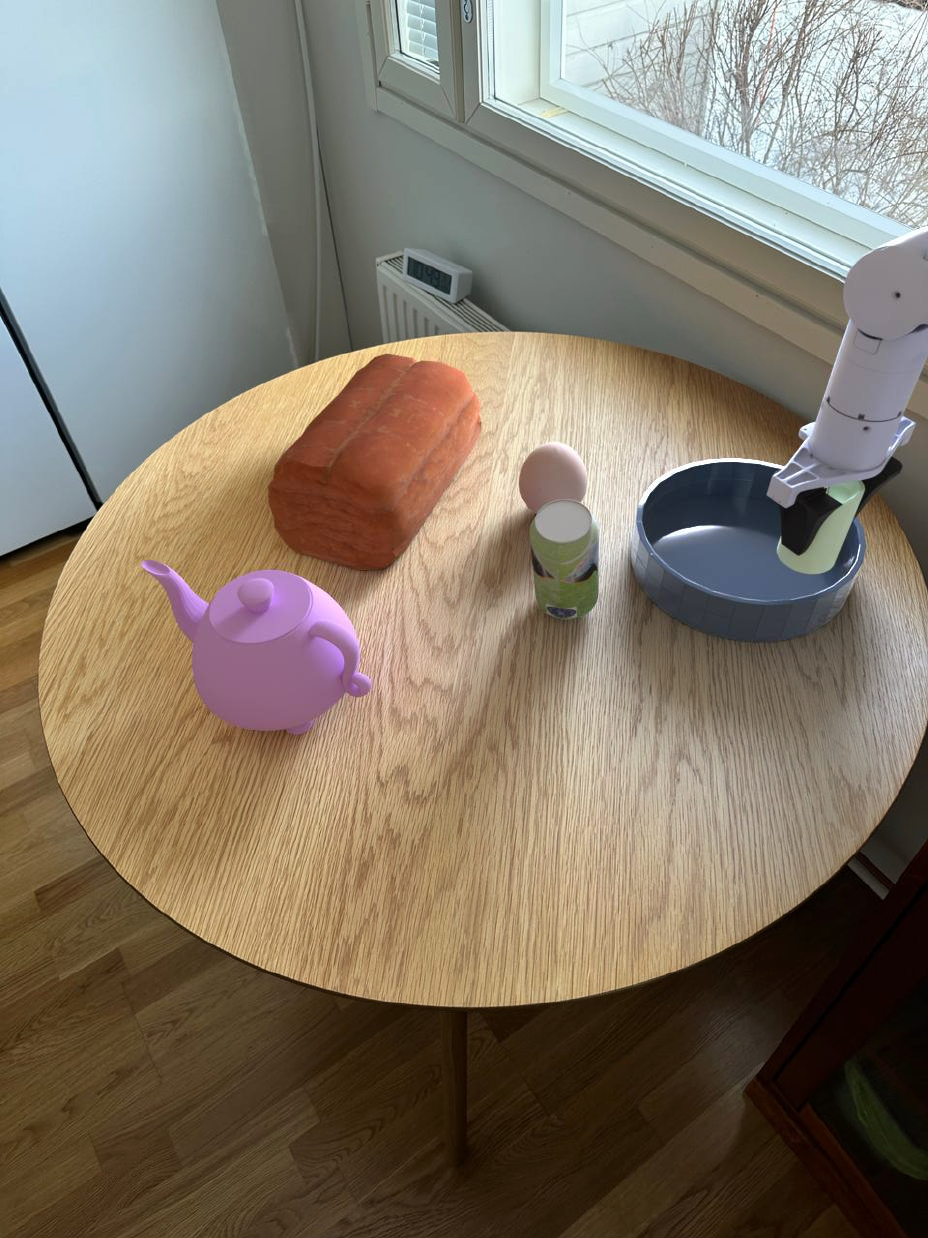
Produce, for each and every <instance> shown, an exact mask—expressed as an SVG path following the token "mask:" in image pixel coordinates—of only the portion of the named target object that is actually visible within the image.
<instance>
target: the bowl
mask: <svg viewBox="0 0 928 1238" xmlns="http://www.w3.org/2000/svg"><path fill="white" fill-rule="evenodd" d="M784 467H785V465H784V466H783V465H780V464H775V463H771V462H766V461H762V460H755V459H745V458H733V457H731V458H712V459H706V460H700V461H694V462H690V463H687V464H685V465H682V466H679V467H676V468H673V469H671V470H669V471H668V472H666V473H665V474H663V475H661V476H660V477H658V478H657V479H656V480H654V481H653V482H652V484H651V485H649V487H647V489H646V490H645V491H644V492H643V493H642V496H641V498H640V500H639V503H638V504H637V507H636V513H635V520H634V527H633V533H632V539H631V549H630V563H631V568H632V571H633V574H634V577H635V579H636V582H637V583H638V585H639V586H640V588H641V590H642V591H643V593H644V594H645V595H646V596H647V598H648V599H650V601H651V602H653V604H655V605H656V606H657V607H658V608H659V609H660V610H661V611H662V612H664V613H665V614H667V615H668V616H669V617H671V618H673V619H675V620H676V621H678V622H679V623H681V624H683V625H685V626H687V627H689V628H692V629H694V630H696V631H699V632H702V633H704V634H707V635H710V636H713V637H717V638H721V639H724V640H731V641H736V642H746V643H772V642H773V643H774V642H782V641H787V640H791V639H792V640H793V639H796V638H799V637H802V636H806V635H808V634H810V633H813V632H815V631H816V630H819V629H820V628H822V627H823V626H825V625H826V624H828V623H830V622H831V621H832V620H833V618H835V617H836V616H837V614H839V612H840V611H841V610H842V609H843V606H844V604H845V603H846V601H847V599H848V598H849V596H850V594H851V592H852V589H853V587H854V584H855V582H856V580H857V578H858V575H859V573H860V571H861V568H862V566H863V564H864V561H865V556H866V550H867V542H866V535H865V530H864V527H863V525H862V523H861V521H860V519H859V517H858V516H857V517H856V518H855V519H854V520H853V522H852V523H851V525H850V528H849V530H848V532H847V535H846V537H845V540H844V542H843V545H842V547H841V549H840V552H839V554H838V557H837V559H836V561H835V564H834V566H833V567H832V568H831V569H830V570H828V571H826V572H824V573H820V574H805V573H800V572H797V571H795V570H793V569H791V568H789V567H787V566H786V565H785V564H784V563H783V562H782V561H781V560H780V559H779V557H778V554H777V547H778V544H779V541H780V538H781V515H780V509H779V504H778V503H777V502H775V501H774V500H773V499H772V498H770V497H769V496H767V492H768V489H769V485H770V482H771V479H772V476H773V475H774V473H775V472H776V471H778V470H780V469H782V468H784Z"/></svg>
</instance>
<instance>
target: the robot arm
mask: <svg viewBox="0 0 928 1238" xmlns="http://www.w3.org/2000/svg"><path fill="white" fill-rule="evenodd" d="M842 298H843V305H844V308H845V312H846V314H847V316H848V318H849V319H848V323H847V326H846V329H845V330H844V331H845V332H844V334H843V337H842V341H841V343H840V347H839V350H838V351H837V352H838V353H837V356H836V359H835V362H834V364H833V367H832V370H831V373H830V376H829V380H828V383H827V386H826V389H825V391H824V395H823V397H822V401H821V404H820V407H819V410H818V413H817V416H816V419H815V421H814V422H810V423H808V424H806V425H804V426H802V427H801V428H800V429H799V432H798V438H800V439H801V440H802V441H803V443H802V444H801V445H800V447H799V448H798V449H797V451H796V452H795V453H794V454H793V456H792V457H791V458H790V460H789V461H788V462H787V464H786V465H784V468H782V469H780V470H778V471H776V472H775V473H774V475H773V476H772V479H771V482H770V485H769V489H768V492H767V496H769V497H770V498H772V499H773V500H774V501H775V502H777V503H778V504H779V509H780V515H781V544H782V545H783V546H785V547H786V548H788V549H789V550H790V551H792V552H793V553H795V554H796V555H797V556H800V555H801V554H803V553H805V551H806V550H807V549H808V548H809V547H810V545H811V543H812V542H813V540H814V538H815V536H816V534H817V532H818V530H819V529H820V527H821V526H822V524H823V523H824V521H825V520H826V519H827V518H828V517H829V516H830V515H831V514H832V513H833V512H834V511H835V510H836V509H838V508H839V507H840V506H842V505H843V504H842V503H840V502H839V501H837V500H836V499H834V498H833V497H831V496H830V495H828V494H826V491H827V488H824V487H826V486H831V485H837V484H842V483H848V482H853V481H858V480H861V481H862V482H863V484H864V485H865V491H864V494H863V496H862V499H861V501H860V503H859V506H858V508H857V511H856V513H855V515H854V518H853V520H854V519H855V518H856V517H858V516H859V514H860V513H861V511H862V510H863V509H864V507H866V505H867V504H868V502H869V501H870V500H872V498H873V497H874V496H875V495H876V494H877V493H878V492H879V491H880V490H881V489H882V488H883V487H884V486H885V485H886V484H888V483H889V482H890V481H891V480H893V479H894V478H895V477H897V476H898V475H900V474H901V471H902V469H903V463H902V462H901V461H900V460H899V459H897V458H896V457H894V456H893V454H894V453H895V452H896V450H897V448H898V447H902V446H905V445H906V444H908V443H909V442H910V440H911V437H912V435H913V433H914V430H915V428H916V425H917V423H916V422H915V421H913V420H912V419H909V418H908V417H906V416H904V414H905V412H906V409H907V407H908V404H909V403H910V402H909V401H910V399H911V397H912V395H913V393H914V390H915V388H916V385H917V383H918V381H919V377H920V376H921V374H922V371H923V369H924V366H925V364H926V361H927V360H928V226H924V227H920V228H919V229H915V230H914V231H911V232H909V233H907V234H905V235H903V236H900V237H898V238H896V239H894V240H891V241H889V242H887V243H884V244H882V245H880V246H878V247H875V248H873V249H871V250H870V251H868V252H867V253H866V254H863V255H862V256H861V257H859V258H858V259H857V260H856V261H855V262H854V263H853V264H852V266H851V267H850V269H849V270H848V273H847V274H846V277H845V280H844V284H843V291H842ZM853 520H852V522H853Z"/></svg>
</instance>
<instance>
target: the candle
mask: <svg viewBox="0 0 928 1238" xmlns="http://www.w3.org/2000/svg"><path fill="white" fill-rule="evenodd" d="M824 488H827V491H826V494H828V495H830V496H831V497H833V498H834V499H836V500H837V501H839V502H840V503H842V504H843V505H842V506H840V507H839V508H838V509H836V510H835V511H834V512H833V513H832V514H831V515H830V516H829V517H828V518H827V519H826V520H825V521H824V523H823V524H822V526H821V527H820V529H819V530H818V532H817V534H816V536H815V538H814V540H813V542H812V543H811V545H810V547H809V548H808V549H807V550H806V551H805V553H803V554H801V555H800V556H797V555H796V554H795V553H793V552H792V551H790V550H789V549H788V548H786V547H785V546H783V545H782V544H781V538H780V541H779V544H778V547H777V554H778V557H779V559H780V560H781V561H782V562H783V563H784V564H785V565H786V566H787V567H789V568H791V569H793V570H795V571H797V572H800V573H805V574H820V573H824V572H826V571H828V570H830V569H831V568H832V567H833V566H834V564H835V561H836V559H837V557H838V554H839V552H840V549H841V547H842V545H843V542H844V540H845V537H846V535H847V532H848V530H849V528H850V525H851V523H852V520H853V518H854V515H855V513H856V511H857V508H858V506H859V503H860V501H861V499H862V496H863V494H864V491H865V485H864V484H863V482H862V481H861V480H858V481H853V482H848V483H842V484H837V485H831V486H826V487H824Z"/></svg>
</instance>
